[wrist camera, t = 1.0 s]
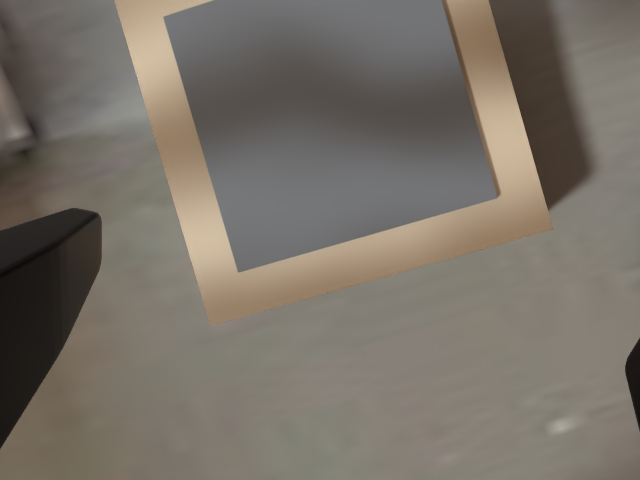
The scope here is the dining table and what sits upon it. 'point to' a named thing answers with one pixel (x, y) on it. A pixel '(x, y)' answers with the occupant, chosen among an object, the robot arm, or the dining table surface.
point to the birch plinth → (331, 139)
